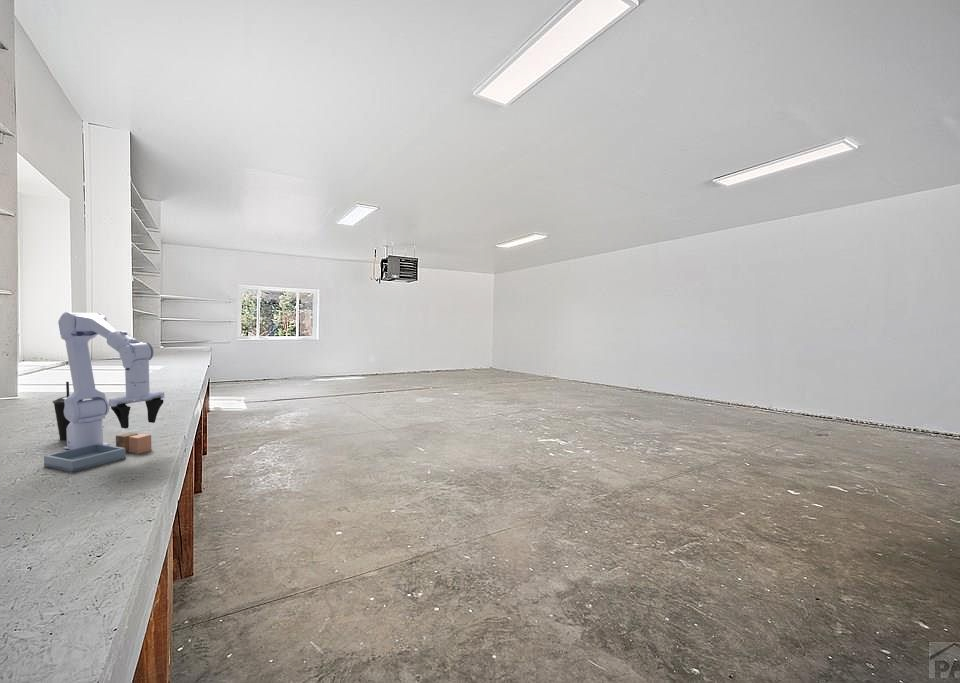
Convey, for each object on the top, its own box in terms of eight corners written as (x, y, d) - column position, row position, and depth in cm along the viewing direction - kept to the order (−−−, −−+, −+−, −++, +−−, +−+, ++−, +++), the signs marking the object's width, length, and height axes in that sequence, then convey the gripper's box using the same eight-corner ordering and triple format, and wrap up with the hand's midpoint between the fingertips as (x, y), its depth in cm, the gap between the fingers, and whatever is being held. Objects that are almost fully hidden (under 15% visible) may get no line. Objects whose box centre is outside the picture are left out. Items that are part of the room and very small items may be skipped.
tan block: (116, 450, 135) (115, 435, 135) (130, 447, 139) (129, 432, 138) (124, 452, 134) (124, 436, 133) (138, 448, 137) (137, 433, 137)
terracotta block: (129, 452, 134) (128, 436, 133) (143, 448, 137) (142, 433, 137) (137, 453, 132) (137, 438, 132) (151, 450, 136) (151, 434, 136)
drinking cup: (65, 442, 143) (63, 383, 142) (48, 440, 145) (45, 382, 144) (90, 436, 151) (88, 380, 150) (73, 434, 152) (71, 379, 151)
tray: (44, 466, 120) (43, 455, 120) (98, 452, 132) (97, 443, 132) (72, 472, 116) (72, 461, 116) (125, 457, 128) (125, 448, 128)
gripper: (119, 386, 122) (120, 432, 123) (170, 379, 136) (171, 421, 136) (103, 384, 124) (104, 429, 125) (155, 378, 138) (156, 419, 139)
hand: (138, 425), depth 131 cm, fingers open, 7 cm apart
